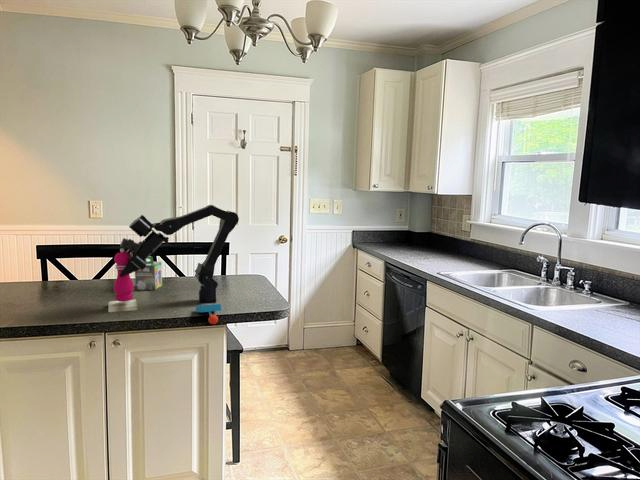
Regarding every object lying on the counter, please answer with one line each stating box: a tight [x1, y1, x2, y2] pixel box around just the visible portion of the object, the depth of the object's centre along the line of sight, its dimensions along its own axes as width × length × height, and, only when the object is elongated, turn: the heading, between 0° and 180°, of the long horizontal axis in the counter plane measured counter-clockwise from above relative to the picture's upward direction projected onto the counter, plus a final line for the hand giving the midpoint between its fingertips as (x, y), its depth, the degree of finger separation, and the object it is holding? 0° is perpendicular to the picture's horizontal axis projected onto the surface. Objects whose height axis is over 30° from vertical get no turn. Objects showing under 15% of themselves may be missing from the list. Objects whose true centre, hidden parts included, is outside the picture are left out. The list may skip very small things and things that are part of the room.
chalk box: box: [134, 255, 163, 291], centre depth 212 cm, size 9×9×15 cm
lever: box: [195, 303, 222, 325], centre depth 172 cm, size 7×7×18 cm
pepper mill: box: [113, 247, 135, 301], centre depth 178 cm, size 7×7×20 cm
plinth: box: [107, 299, 138, 313], centre depth 181 cm, size 10×10×2 cm
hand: (119, 274), depth 177 cm, fingers closed on pepper mill, 5 cm apart
